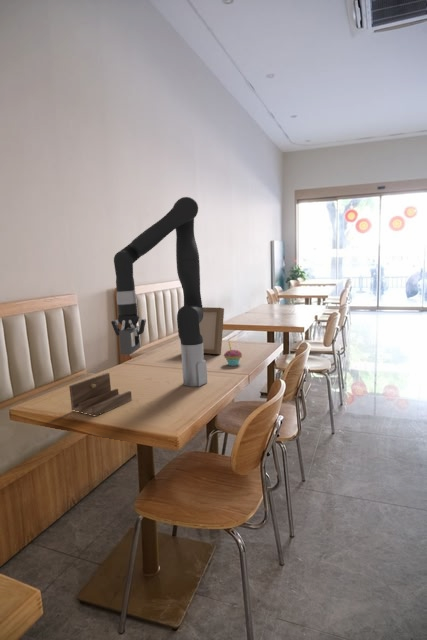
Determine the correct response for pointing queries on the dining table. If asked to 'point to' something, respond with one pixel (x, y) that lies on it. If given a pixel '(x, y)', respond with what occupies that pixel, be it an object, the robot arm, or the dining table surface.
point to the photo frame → (212, 329)
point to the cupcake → (233, 356)
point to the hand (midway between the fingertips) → (130, 344)
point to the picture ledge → (96, 395)
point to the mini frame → (128, 341)
